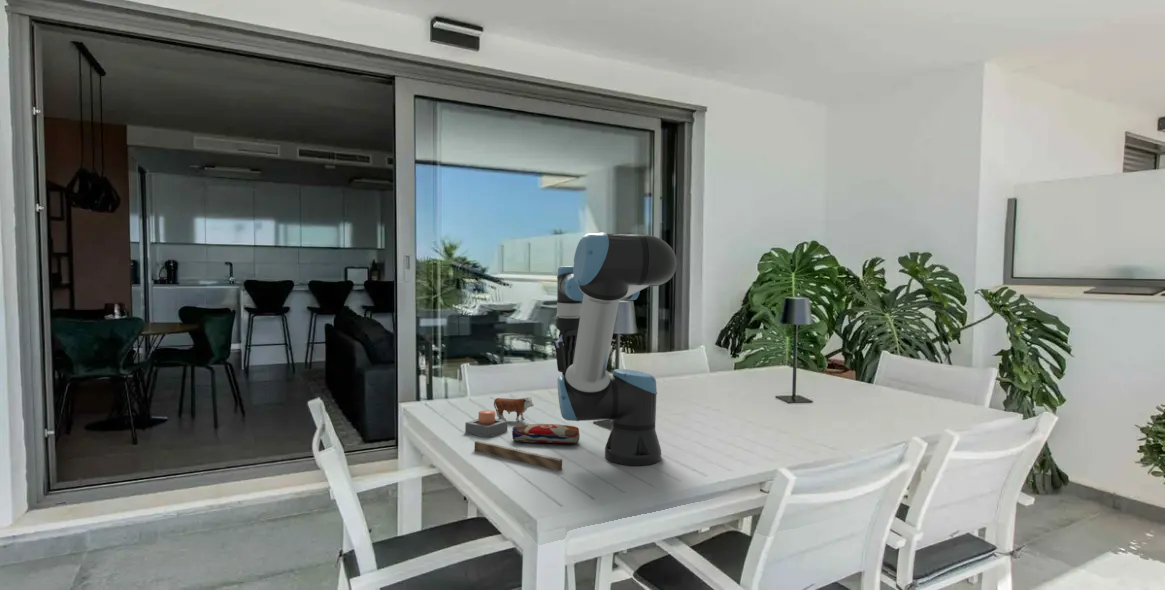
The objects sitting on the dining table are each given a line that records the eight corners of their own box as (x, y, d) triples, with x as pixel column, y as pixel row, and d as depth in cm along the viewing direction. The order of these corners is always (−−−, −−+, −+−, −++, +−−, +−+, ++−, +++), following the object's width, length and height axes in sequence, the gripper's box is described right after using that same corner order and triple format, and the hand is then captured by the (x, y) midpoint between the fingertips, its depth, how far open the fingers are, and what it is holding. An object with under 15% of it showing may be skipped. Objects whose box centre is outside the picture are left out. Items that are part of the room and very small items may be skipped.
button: (498, 424, 189) (498, 411, 189) (487, 428, 185) (487, 415, 184) (485, 422, 191) (485, 409, 191) (474, 425, 187) (475, 412, 187)
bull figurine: (532, 423, 200) (532, 398, 199) (492, 420, 202) (492, 395, 201) (535, 419, 204) (535, 395, 203) (496, 417, 206) (496, 393, 206)
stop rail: (561, 469, 155) (562, 459, 155) (559, 470, 154) (559, 460, 154) (477, 449, 170) (477, 440, 170) (474, 450, 169) (474, 441, 169)
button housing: (507, 430, 190) (507, 421, 189) (488, 437, 182) (488, 427, 182) (485, 426, 194) (485, 416, 194) (465, 432, 187) (465, 422, 186)
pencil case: (570, 451, 171) (570, 433, 171) (506, 443, 177) (506, 426, 177) (583, 441, 181) (583, 424, 181) (522, 433, 188) (522, 417, 187)
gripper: (570, 314, 195) (568, 388, 197) (546, 317, 184) (544, 395, 186) (590, 316, 191) (588, 391, 193) (567, 319, 180) (565, 398, 182)
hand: (567, 393), depth 189 cm, fingers closed
